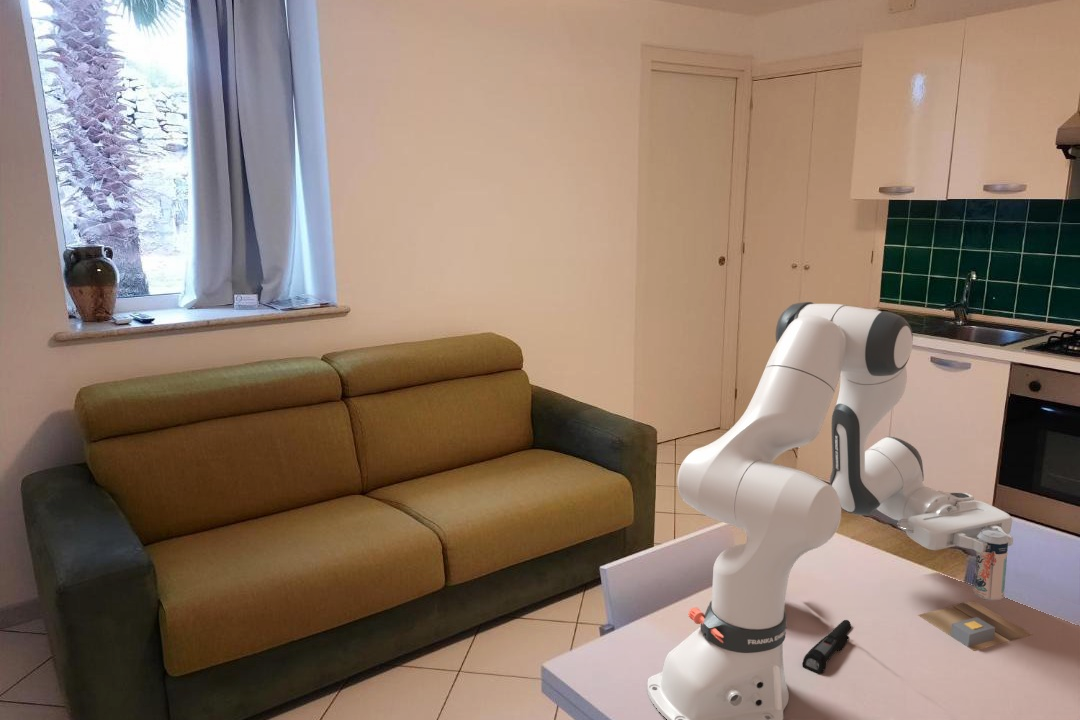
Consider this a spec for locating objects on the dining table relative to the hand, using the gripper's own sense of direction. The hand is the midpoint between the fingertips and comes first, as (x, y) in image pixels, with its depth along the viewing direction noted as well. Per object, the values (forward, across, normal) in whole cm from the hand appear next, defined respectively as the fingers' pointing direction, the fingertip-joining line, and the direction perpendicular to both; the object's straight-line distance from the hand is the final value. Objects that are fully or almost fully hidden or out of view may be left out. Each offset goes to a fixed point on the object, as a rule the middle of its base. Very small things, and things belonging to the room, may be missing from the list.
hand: (997, 545), depth 134 cm
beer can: (0, 0, +10) cm, 10 cm away
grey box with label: (+2, -6, +16) cm, 17 cm away
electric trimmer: (-5, -31, +18) cm, 36 cm away
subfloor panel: (-1, -2, +17) cm, 17 cm away
